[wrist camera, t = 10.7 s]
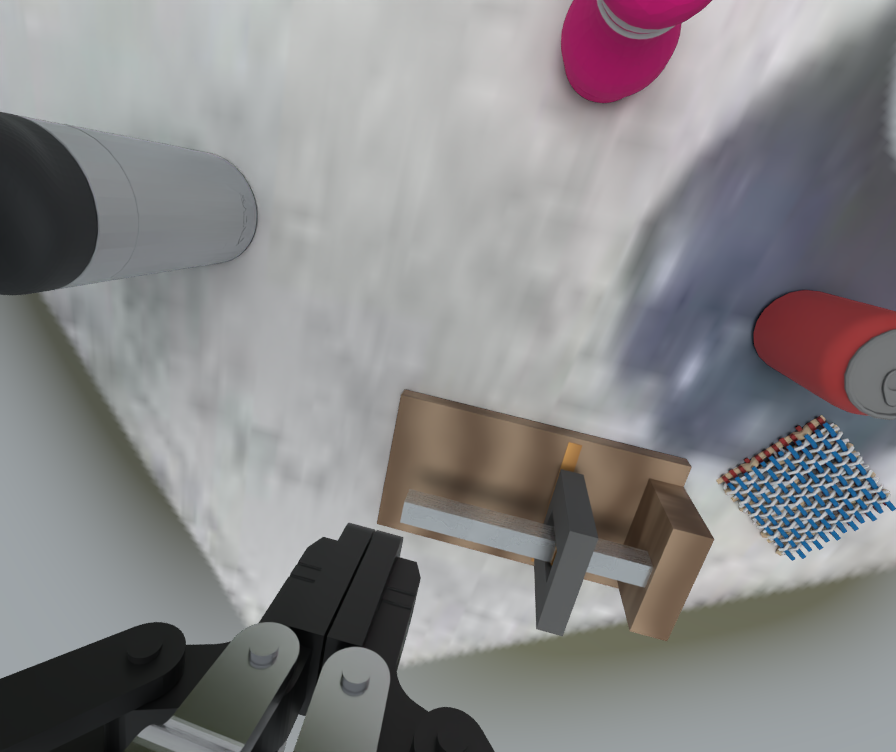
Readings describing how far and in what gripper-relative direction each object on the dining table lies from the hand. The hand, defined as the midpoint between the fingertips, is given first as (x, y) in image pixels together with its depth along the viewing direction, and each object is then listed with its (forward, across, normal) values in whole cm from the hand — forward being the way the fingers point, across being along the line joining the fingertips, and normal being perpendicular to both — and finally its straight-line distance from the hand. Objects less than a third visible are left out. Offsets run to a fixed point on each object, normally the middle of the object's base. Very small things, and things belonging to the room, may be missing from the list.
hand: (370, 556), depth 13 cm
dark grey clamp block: (+29, -11, +15) cm, 34 cm away
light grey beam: (+26, -8, +15) cm, 31 cm away
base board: (+32, -8, +15) cm, 36 cm away
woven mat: (+33, -31, +8) cm, 46 cm away
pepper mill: (+32, -5, -21) cm, 39 cm away
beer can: (+32, -25, -5) cm, 41 cm away
